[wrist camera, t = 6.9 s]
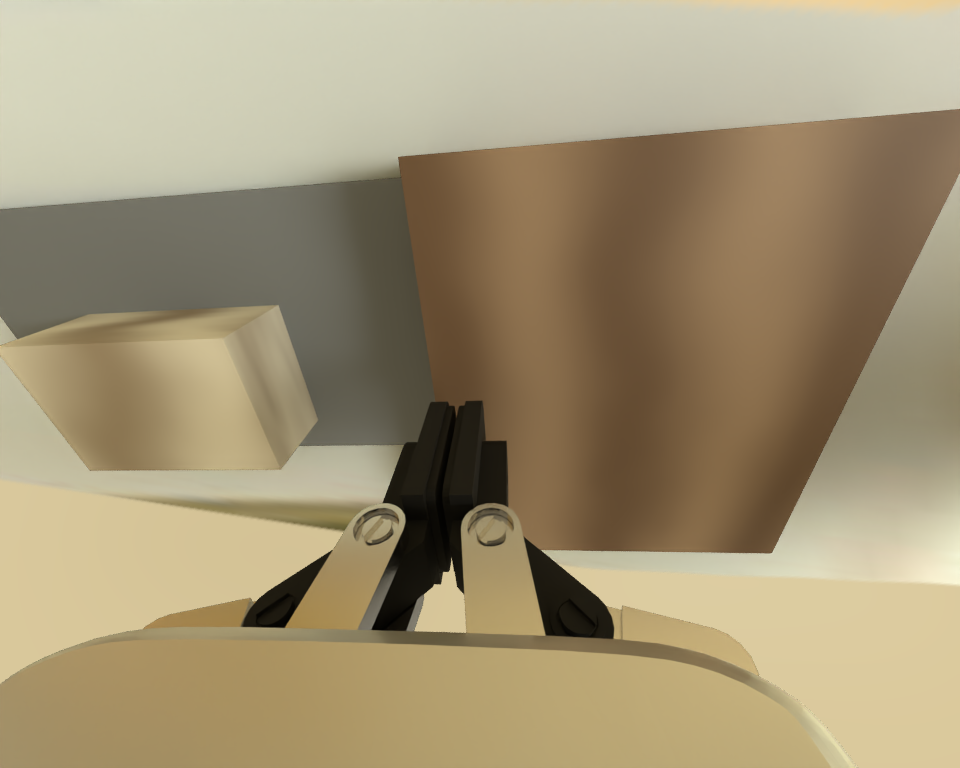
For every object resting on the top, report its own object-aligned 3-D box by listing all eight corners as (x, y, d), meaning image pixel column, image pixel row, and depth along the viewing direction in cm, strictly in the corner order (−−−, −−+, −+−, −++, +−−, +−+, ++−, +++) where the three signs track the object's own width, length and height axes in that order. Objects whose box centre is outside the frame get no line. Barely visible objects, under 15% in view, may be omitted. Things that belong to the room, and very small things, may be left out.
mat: (415, 176, 14) (412, 176, 13) (450, 438, 20) (449, 443, 19) (-58, 214, 16) (-74, 215, 15) (106, 442, 21) (97, 448, 21)
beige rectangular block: (-7, 347, 14) (89, 314, 17) (89, 470, 17) (155, 422, 20) (222, 338, 13) (278, 304, 16) (280, 469, 16) (318, 419, 19)
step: (854, 123, 12) (992, 106, 9) (726, 486, 20) (771, 553, 17) (427, 159, 13) (398, 156, 10) (466, 486, 21) (457, 548, 18)
